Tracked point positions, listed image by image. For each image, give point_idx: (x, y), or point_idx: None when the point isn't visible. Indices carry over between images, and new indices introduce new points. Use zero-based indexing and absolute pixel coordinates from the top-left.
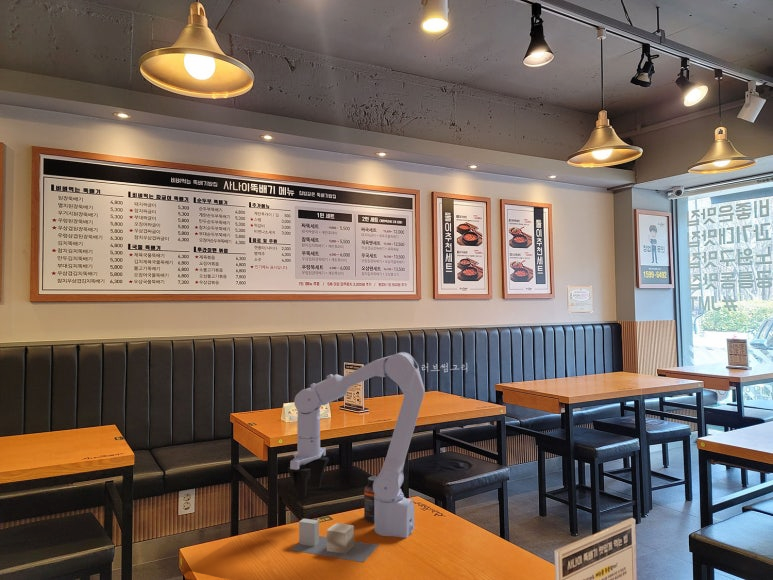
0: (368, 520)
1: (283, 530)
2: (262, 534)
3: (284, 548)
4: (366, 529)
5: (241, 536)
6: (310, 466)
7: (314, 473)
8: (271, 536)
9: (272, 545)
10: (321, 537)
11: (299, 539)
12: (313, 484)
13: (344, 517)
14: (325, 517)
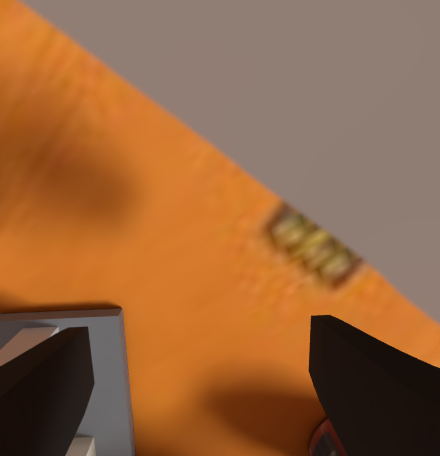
0: (316, 451)
1: (156, 163)
2: (79, 98)
3: (9, 267)
4: (280, 438)
5: (15, 12)
6: (429, 430)
7: (370, 411)
8: (79, 150)
9: (8, 208)
10: (114, 370)
11: (12, 339)
12: (317, 337)
13: (364, 322)
14: (344, 254)
